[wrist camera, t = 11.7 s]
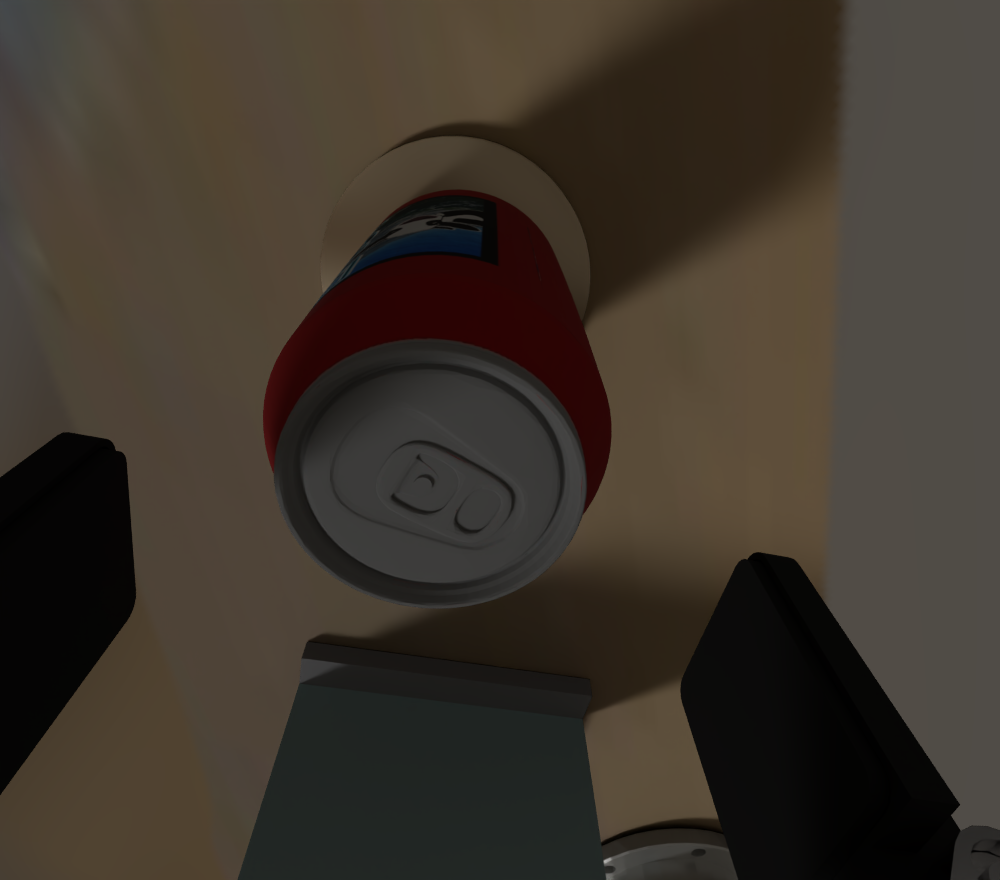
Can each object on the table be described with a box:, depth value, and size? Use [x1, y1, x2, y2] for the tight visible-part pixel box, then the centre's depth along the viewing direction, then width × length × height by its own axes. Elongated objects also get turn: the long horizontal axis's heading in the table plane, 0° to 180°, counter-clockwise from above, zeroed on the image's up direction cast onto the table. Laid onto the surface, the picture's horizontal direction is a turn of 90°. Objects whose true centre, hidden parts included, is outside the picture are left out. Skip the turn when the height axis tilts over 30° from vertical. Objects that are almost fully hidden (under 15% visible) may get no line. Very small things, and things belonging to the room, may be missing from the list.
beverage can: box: [263, 189, 611, 608], centre depth 16 cm, size 7×7×12 cm
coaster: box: [321, 135, 591, 321], centre depth 21 cm, size 9×9×1 cm
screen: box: [238, 642, 606, 880], centre depth 26 cm, size 5×14×14 cm, turn 78°
